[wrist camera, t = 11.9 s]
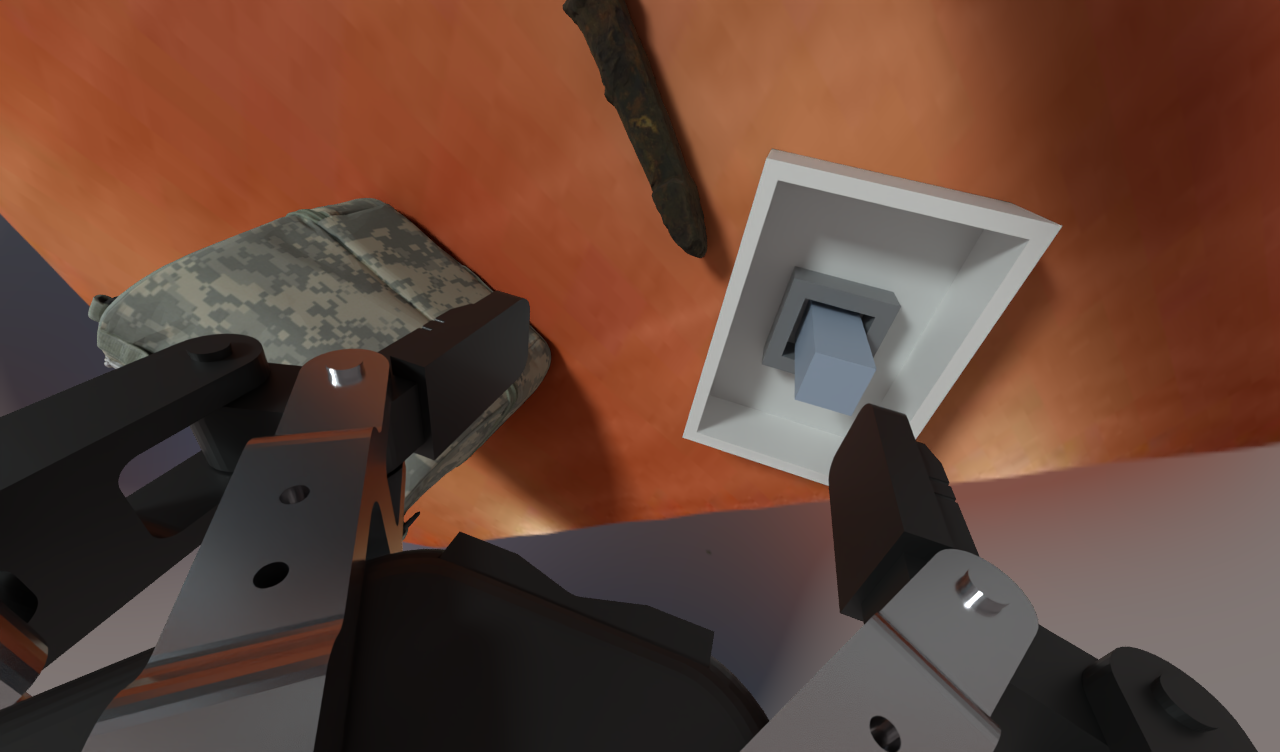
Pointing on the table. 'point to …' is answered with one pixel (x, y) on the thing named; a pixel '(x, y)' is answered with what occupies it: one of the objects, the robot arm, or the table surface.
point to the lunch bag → (314, 304)
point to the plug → (832, 358)
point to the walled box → (855, 301)
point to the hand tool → (642, 116)
